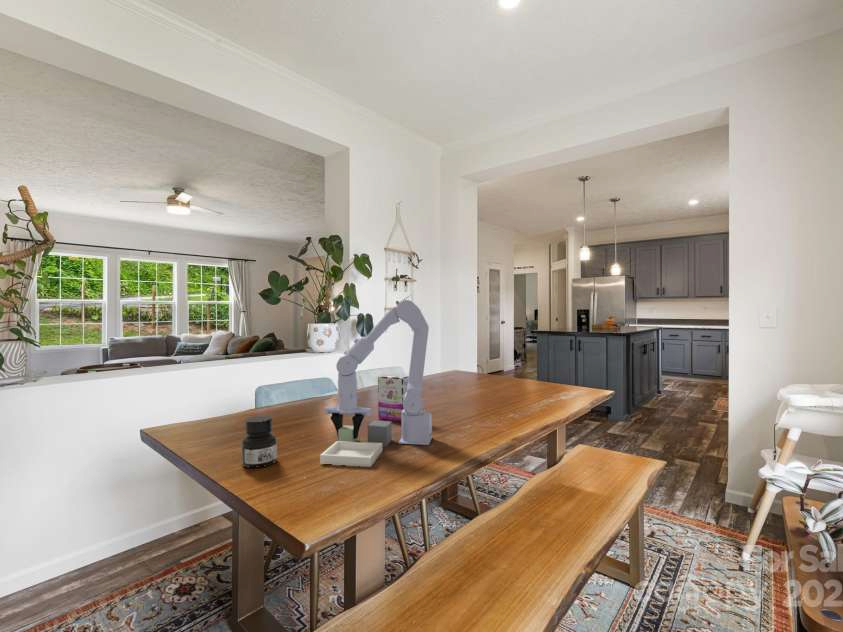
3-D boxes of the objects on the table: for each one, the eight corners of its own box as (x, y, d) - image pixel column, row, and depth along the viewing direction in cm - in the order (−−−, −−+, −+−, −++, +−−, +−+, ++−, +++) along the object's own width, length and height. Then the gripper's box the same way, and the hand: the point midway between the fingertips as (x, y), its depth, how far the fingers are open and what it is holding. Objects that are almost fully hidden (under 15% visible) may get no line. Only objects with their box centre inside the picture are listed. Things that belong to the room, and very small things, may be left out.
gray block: (391, 440, 131) (391, 421, 131) (386, 446, 125) (386, 426, 125) (373, 439, 132) (373, 420, 132) (367, 445, 126) (367, 425, 126)
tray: (382, 451, 120) (382, 443, 120) (370, 467, 108) (370, 457, 108) (336, 449, 123) (336, 440, 123) (320, 464, 111) (320, 455, 111)
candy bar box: (410, 419, 155) (409, 375, 155) (403, 422, 151) (402, 378, 151) (385, 416, 160) (384, 374, 160) (377, 419, 156) (377, 376, 156)
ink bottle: (244, 471, 106) (243, 425, 106) (236, 461, 113) (236, 418, 113) (282, 463, 112) (282, 419, 112) (273, 454, 119) (272, 412, 119)
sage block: (357, 440, 131) (357, 426, 131) (352, 444, 127) (352, 430, 127) (343, 439, 132) (343, 425, 132) (338, 444, 127) (338, 429, 127)
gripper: (320, 396, 126) (320, 440, 127) (366, 397, 124) (366, 442, 124) (329, 391, 133) (329, 433, 134) (372, 392, 131) (373, 435, 131)
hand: (348, 437), depth 129 cm, fingers closed on sage block, 4 cm apart
